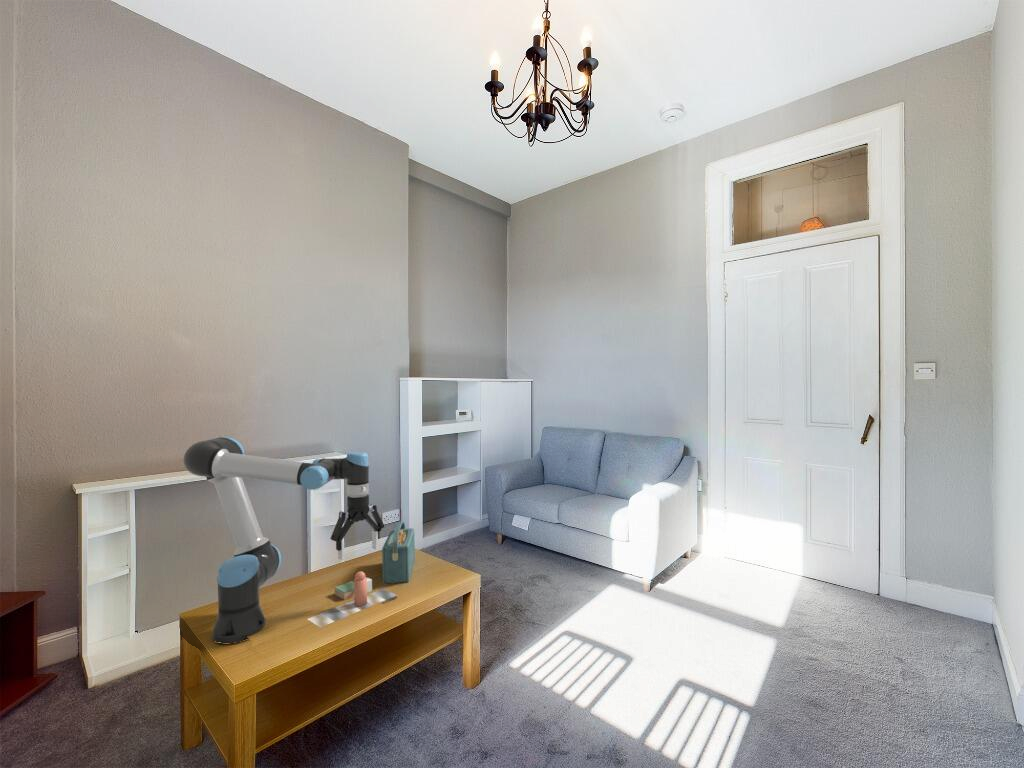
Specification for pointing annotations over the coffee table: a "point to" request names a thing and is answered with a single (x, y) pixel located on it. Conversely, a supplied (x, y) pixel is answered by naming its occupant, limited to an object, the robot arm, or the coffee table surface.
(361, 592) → the pink rounded cylinder
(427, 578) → the coffee table surface
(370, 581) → the white cube
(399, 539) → the radio
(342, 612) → the board
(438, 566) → the coffee table surface
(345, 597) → the stand
